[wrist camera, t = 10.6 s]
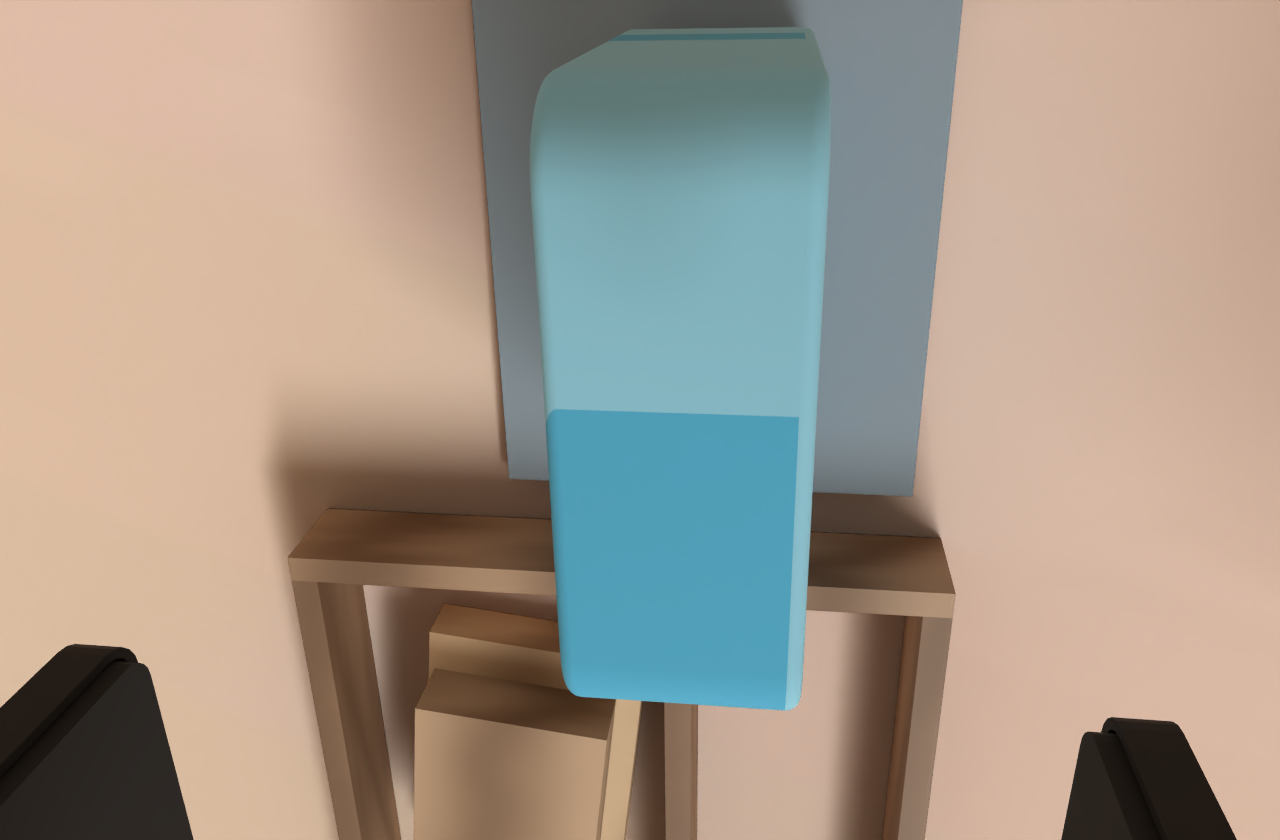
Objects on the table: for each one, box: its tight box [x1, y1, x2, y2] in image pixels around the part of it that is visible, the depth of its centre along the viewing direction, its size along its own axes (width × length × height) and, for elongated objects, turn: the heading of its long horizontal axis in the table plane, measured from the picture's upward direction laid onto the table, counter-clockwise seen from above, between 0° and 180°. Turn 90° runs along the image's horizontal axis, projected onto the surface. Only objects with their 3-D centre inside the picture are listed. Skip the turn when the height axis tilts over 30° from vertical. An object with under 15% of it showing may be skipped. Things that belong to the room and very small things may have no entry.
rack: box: [288, 509, 955, 840], centre depth 35 cm, size 19×20×3 cm
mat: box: [472, 0, 963, 496], centre depth 28 cm, size 12×14×1 cm
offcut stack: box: [414, 604, 643, 840], centre depth 35 cm, size 7×10×4 cm
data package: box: [530, 27, 831, 710], centre depth 23 cm, size 12×4×12 cm, turn 1°
